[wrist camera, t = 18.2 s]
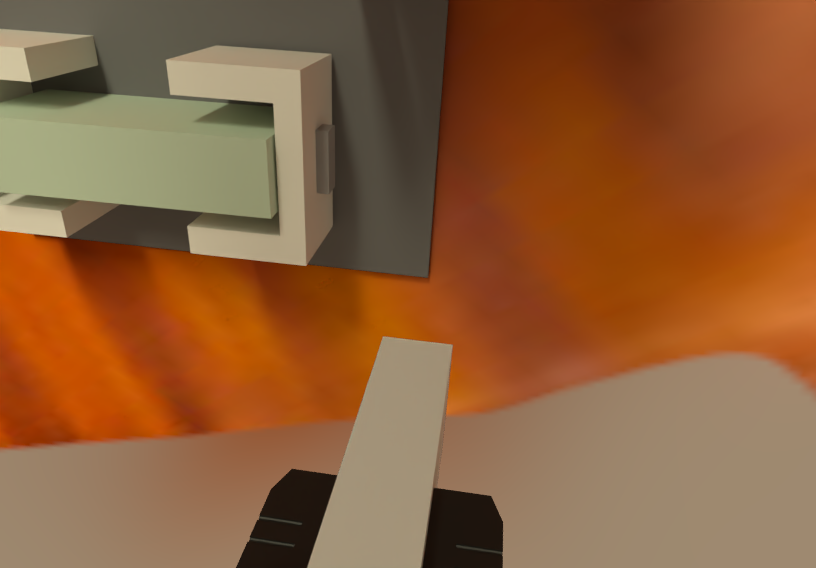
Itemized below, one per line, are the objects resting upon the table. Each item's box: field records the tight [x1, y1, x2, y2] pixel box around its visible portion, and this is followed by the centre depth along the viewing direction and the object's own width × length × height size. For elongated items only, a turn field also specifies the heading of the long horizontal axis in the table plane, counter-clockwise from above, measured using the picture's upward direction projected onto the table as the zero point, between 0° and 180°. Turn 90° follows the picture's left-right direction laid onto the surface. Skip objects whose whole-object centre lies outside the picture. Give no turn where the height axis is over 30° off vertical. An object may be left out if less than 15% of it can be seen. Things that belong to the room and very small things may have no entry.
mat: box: [0, 0, 449, 278], centre depth 32 cm, size 14×24×1 cm, turn 87°
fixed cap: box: [0, 29, 120, 238], centre depth 31 cm, size 9×5×5 cm, turn 177°
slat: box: [0, 89, 279, 219], centre depth 30 cm, size 4×14×6 cm, turn 87°
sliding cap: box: [166, 45, 335, 266], centre depth 29 cm, size 9×6×5 cm
